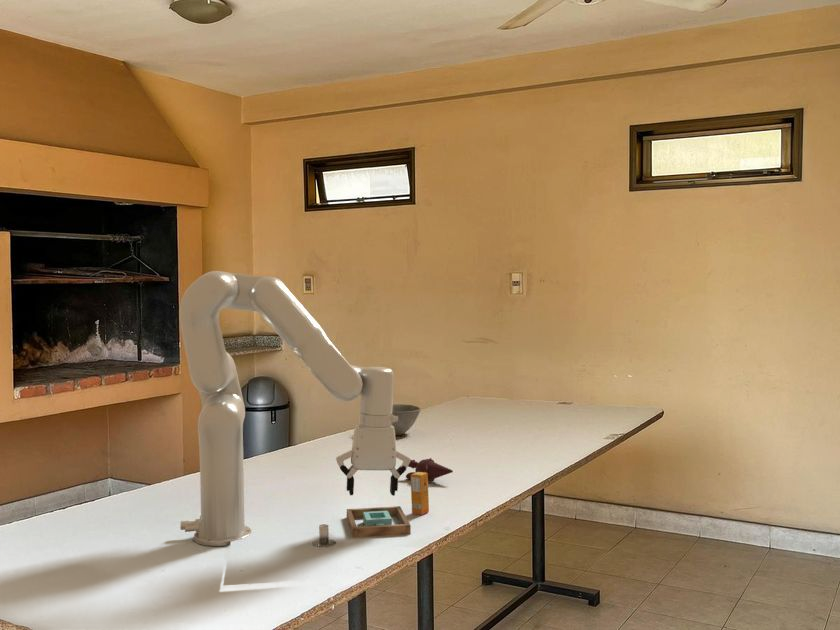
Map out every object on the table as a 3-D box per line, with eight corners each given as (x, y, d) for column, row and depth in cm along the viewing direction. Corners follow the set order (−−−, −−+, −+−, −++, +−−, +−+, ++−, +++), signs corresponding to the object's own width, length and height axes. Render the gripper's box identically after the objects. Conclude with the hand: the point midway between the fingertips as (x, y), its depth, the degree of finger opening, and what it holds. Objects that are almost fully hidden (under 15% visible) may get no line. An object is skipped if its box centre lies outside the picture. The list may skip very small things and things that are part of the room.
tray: (352, 541, 177) (352, 528, 177) (346, 521, 192) (346, 509, 192) (410, 538, 180) (410, 525, 179) (400, 518, 194) (400, 506, 194)
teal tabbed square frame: (362, 521, 190) (362, 510, 190) (386, 520, 191) (386, 508, 191) (367, 534, 180) (367, 522, 180) (392, 532, 181) (392, 520, 181)
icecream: (458, 459, 229) (412, 458, 236) (447, 457, 223) (400, 456, 230) (457, 483, 228) (411, 482, 235) (446, 483, 221) (399, 481, 228)
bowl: (420, 439, 288) (420, 411, 288) (368, 439, 288) (368, 411, 288) (421, 429, 307) (421, 403, 306) (372, 429, 307) (372, 403, 307)
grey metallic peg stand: (312, 552, 171) (312, 530, 170) (311, 544, 176) (311, 522, 175) (336, 550, 171) (336, 528, 171) (335, 542, 177) (334, 521, 176)
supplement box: (417, 510, 201) (417, 470, 201) (429, 512, 199) (429, 472, 199) (410, 513, 198) (410, 473, 198) (421, 515, 196) (421, 475, 196)
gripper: (409, 418, 190) (405, 489, 190) (336, 417, 187) (333, 489, 187) (415, 424, 182) (411, 498, 183) (339, 422, 179) (335, 498, 180)
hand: (371, 493), depth 185 cm, fingers open, 9 cm apart
